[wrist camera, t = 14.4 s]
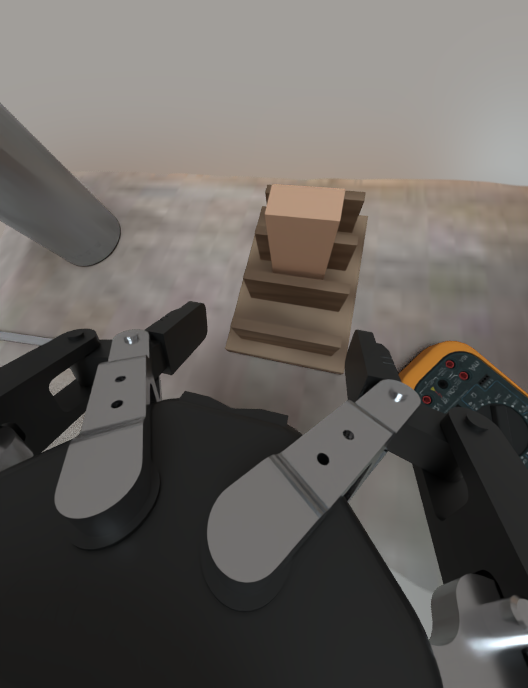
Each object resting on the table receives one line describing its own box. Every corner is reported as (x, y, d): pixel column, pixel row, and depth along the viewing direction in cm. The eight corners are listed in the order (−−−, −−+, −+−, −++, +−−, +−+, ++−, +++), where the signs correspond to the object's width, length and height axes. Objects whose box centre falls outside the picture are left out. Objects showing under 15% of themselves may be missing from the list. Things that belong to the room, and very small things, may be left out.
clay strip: (318, 294, 25) (339, 221, 14) (275, 288, 26) (264, 214, 15) (322, 274, 25) (345, 188, 15) (279, 269, 26) (271, 184, 15)
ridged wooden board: (340, 374, 24) (356, 368, 18) (228, 351, 26) (211, 339, 20) (363, 225, 28) (383, 180, 22) (263, 215, 30) (256, 172, 24)
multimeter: (431, 337, 24) (454, 328, 21) (599, 476, 20) (661, 493, 17) (376, 391, 24) (390, 390, 20) (537, 545, 19) (588, 577, 16)
